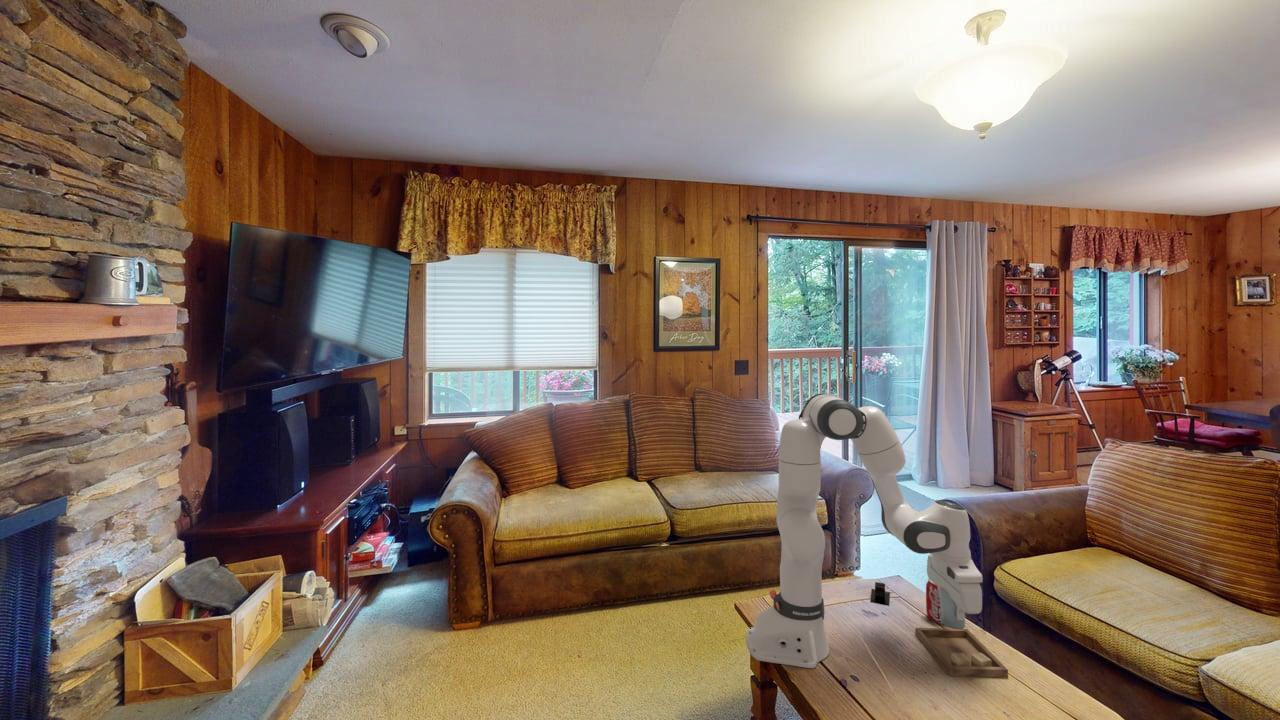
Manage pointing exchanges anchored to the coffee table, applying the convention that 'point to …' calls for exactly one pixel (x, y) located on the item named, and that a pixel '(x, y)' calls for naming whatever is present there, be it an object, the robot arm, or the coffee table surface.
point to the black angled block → (880, 594)
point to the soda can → (933, 602)
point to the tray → (959, 651)
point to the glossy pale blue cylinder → (949, 611)
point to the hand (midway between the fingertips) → (952, 611)
